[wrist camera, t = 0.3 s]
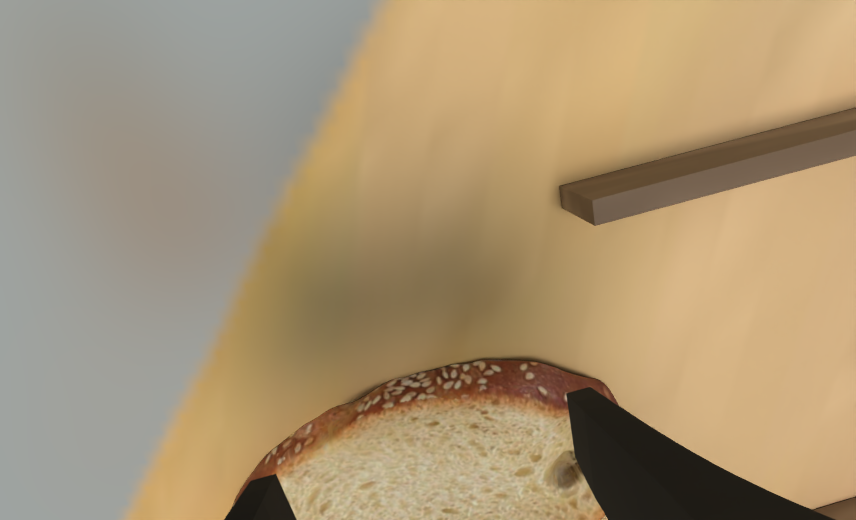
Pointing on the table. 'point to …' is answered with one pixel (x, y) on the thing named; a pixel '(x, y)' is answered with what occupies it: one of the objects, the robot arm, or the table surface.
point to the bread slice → (443, 449)
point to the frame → (717, 183)
